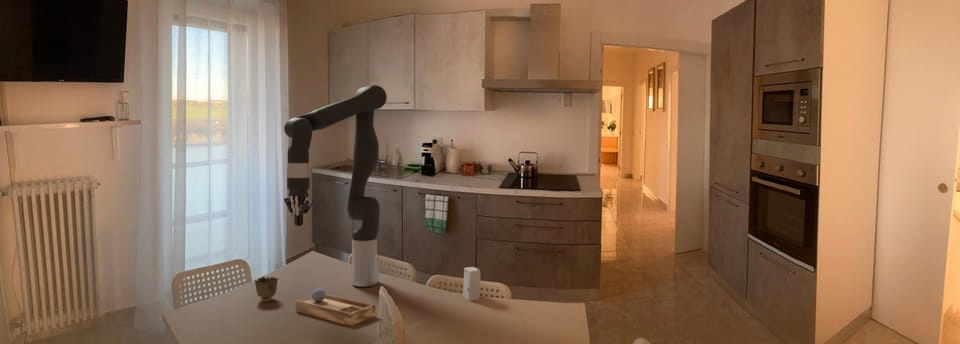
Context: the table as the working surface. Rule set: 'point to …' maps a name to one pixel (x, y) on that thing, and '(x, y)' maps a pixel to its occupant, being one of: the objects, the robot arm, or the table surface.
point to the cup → (266, 288)
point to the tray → (337, 309)
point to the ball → (318, 295)
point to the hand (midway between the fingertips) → (298, 225)
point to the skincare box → (471, 283)
